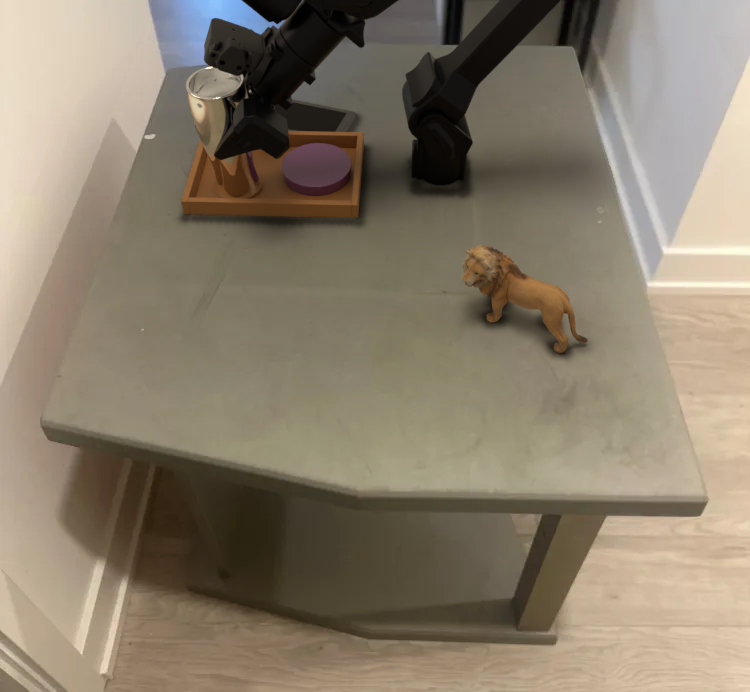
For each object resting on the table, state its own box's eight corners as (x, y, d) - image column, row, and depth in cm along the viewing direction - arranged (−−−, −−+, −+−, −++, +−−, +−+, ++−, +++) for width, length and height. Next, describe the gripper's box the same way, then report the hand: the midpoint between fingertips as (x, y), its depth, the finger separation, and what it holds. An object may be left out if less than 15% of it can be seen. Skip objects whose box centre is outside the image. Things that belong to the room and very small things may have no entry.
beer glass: (229, 211, 92) (202, 107, 80) (202, 182, 95) (172, 79, 83) (276, 187, 94) (257, 83, 82) (248, 160, 98) (226, 56, 86)
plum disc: (353, 152, 99) (353, 143, 98) (349, 197, 93) (349, 187, 92) (286, 151, 99) (285, 142, 98) (278, 195, 94) (277, 186, 93)
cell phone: (340, 147, 101) (340, 142, 100) (247, 127, 104) (247, 123, 103) (358, 116, 105) (358, 112, 105) (269, 99, 108) (268, 94, 107)
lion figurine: (449, 318, 82) (456, 261, 75) (466, 286, 85) (473, 228, 78) (580, 361, 78) (600, 305, 71) (592, 326, 81) (612, 269, 74)
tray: (363, 149, 101) (363, 132, 99) (358, 222, 92) (357, 205, 90) (206, 146, 101) (202, 129, 99) (185, 218, 92) (180, 201, 90)
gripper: (238, -43, 82) (161, 57, 90) (242, 46, 70) (153, 152, 78) (314, 20, 89) (236, 108, 96) (329, 110, 77) (239, 202, 85)
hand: (217, 139), depth 89 cm, fingers closed on beer glass, 7 cm apart
